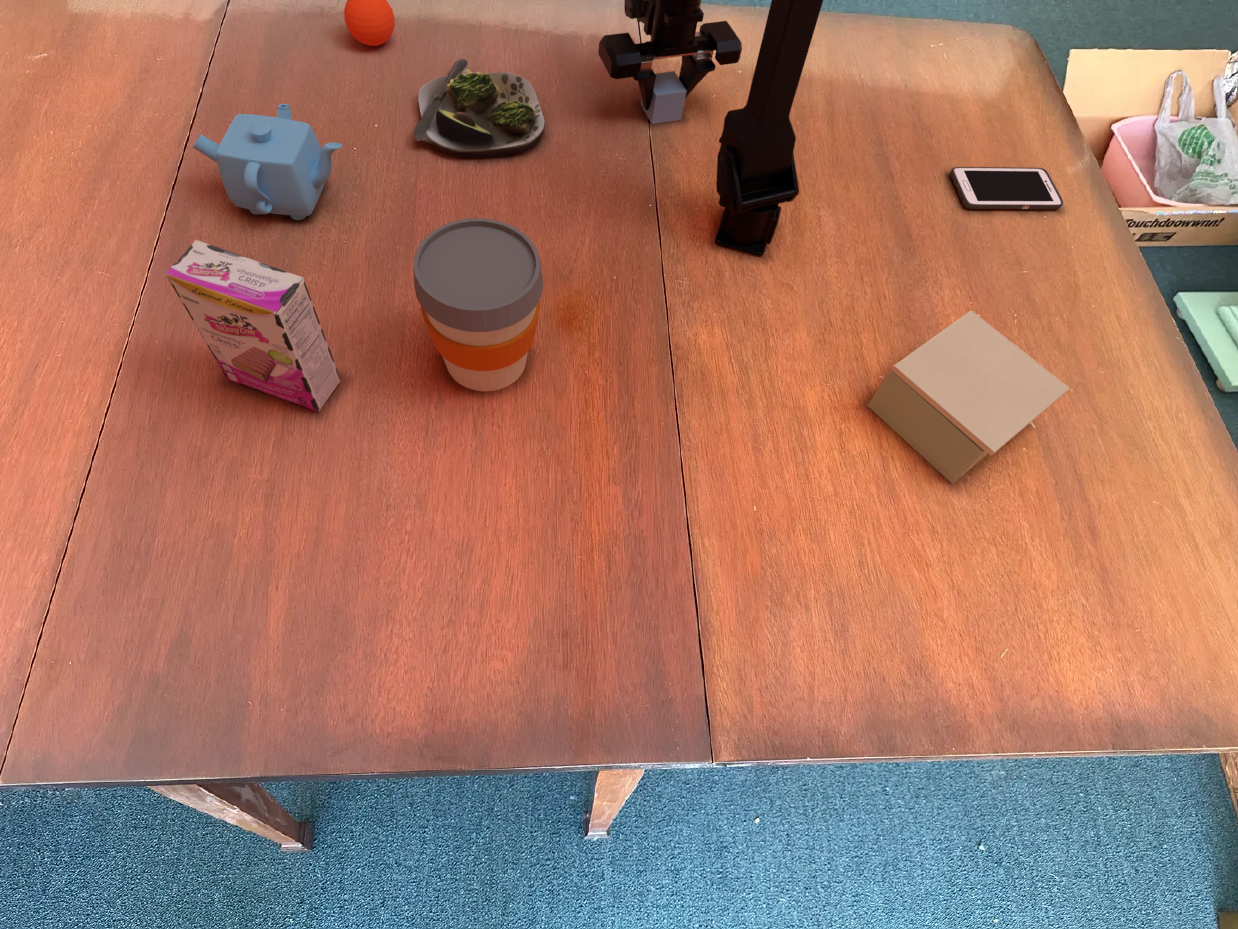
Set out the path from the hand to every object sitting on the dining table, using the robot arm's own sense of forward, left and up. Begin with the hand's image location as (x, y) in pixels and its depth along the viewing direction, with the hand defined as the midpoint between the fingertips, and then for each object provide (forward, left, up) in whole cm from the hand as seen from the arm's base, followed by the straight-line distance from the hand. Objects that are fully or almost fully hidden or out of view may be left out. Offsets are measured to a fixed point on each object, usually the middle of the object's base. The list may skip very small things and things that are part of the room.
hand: (662, 105), depth 111 cm
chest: (+44, -40, -1) cm, 59 cm away
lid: (+44, -40, +6) cm, 60 cm away
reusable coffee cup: (-8, -50, -1) cm, 51 cm away
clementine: (-44, -1, -1) cm, 44 cm away
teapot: (-40, -34, -1) cm, 53 cm away
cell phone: (+50, +2, -1) cm, 50 cm away
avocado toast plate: (-23, -12, -1) cm, 26 cm away
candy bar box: (-27, -60, -1) cm, 66 cm away
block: (0, 0, -1) cm, 1 cm away
